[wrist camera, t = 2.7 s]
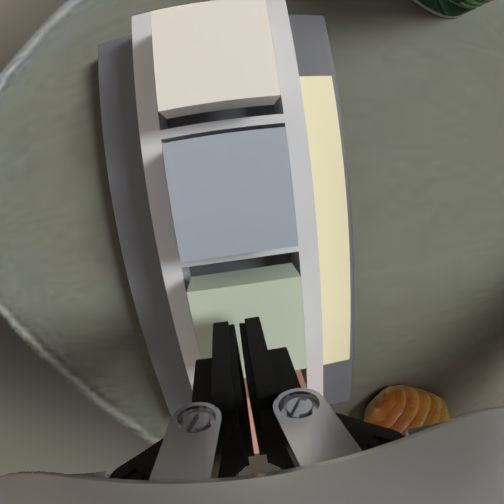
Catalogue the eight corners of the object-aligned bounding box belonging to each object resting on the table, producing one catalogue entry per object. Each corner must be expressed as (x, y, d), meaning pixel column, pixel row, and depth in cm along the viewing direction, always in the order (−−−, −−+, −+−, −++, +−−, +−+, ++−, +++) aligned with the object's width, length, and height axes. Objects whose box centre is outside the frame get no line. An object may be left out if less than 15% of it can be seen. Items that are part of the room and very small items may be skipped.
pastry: (337, 420, 22) (352, 454, 18) (400, 361, 21) (424, 391, 17) (395, 447, 24) (410, 474, 20) (447, 400, 23) (467, 424, 19)
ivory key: (260, 15, 11) (264, -4, 9) (273, 104, 12) (281, 95, 10) (159, 28, 11) (150, 11, 9) (167, 118, 12) (158, 111, 10)
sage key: (291, 262, 14) (300, 276, 12) (298, 347, 15) (306, 368, 13) (191, 276, 14) (186, 292, 12) (209, 360, 15) (207, 382, 13)
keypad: (316, 25, 14) (335, -2, 11) (343, 387, 21) (360, 420, 17) (107, 53, 14) (82, 31, 10) (177, 411, 20) (171, 447, 17)
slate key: (277, 132, 12) (285, 126, 11) (289, 235, 14) (298, 246, 12) (170, 146, 12) (161, 143, 10) (186, 250, 13) (180, 262, 12)
